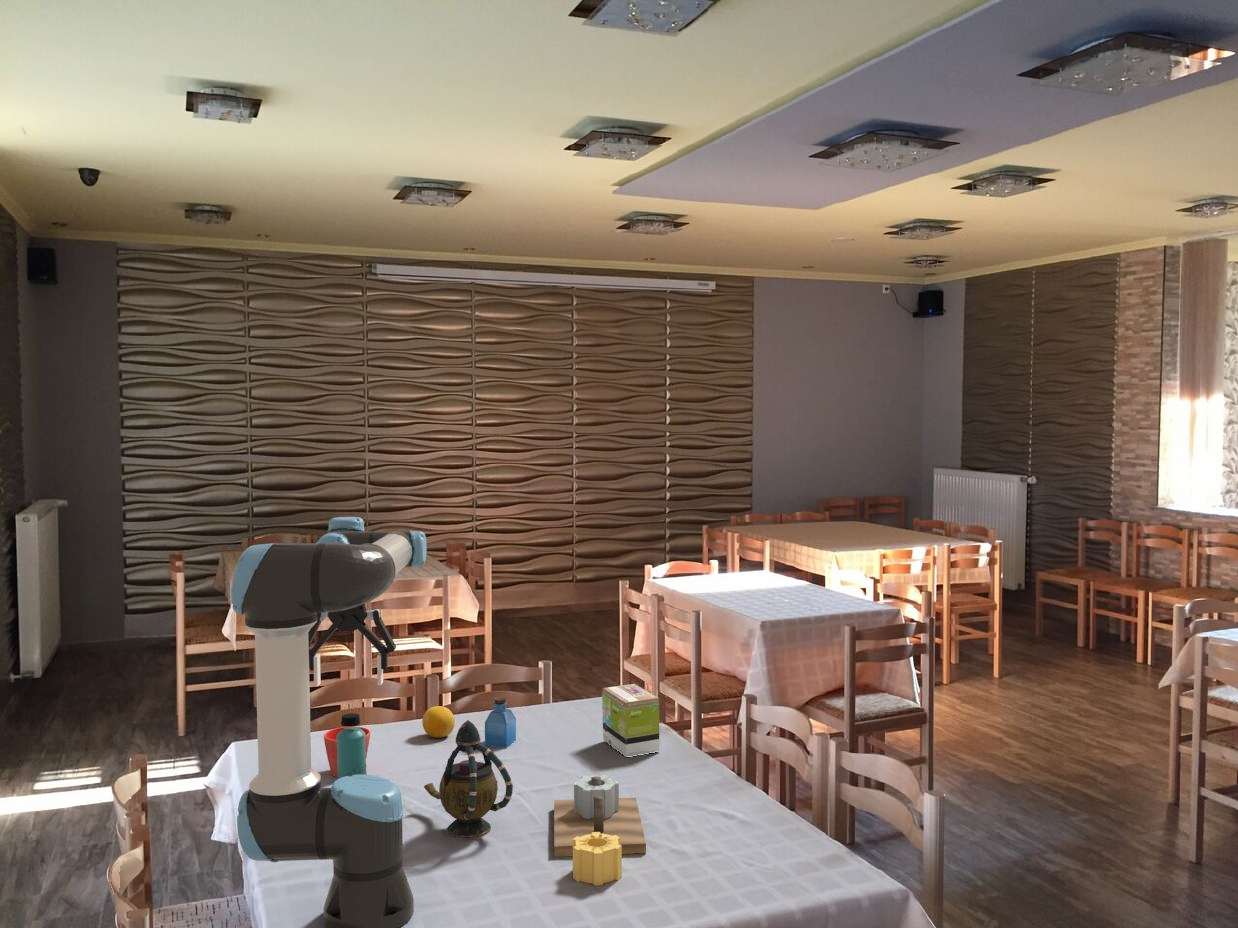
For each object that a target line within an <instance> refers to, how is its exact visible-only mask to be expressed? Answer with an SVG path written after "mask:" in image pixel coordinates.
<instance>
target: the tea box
mask: <svg viewBox="0 0 1238 928" xmlns="http://www.w3.org/2000/svg"><path fill="white" fill-rule="evenodd" d="M601 690H602V693H601V695H602V698H601V699H602V701H601V702H602V704H601V705H602V706H601V707H602V741H603V740H604V741H603V742H604V743H606V742H607V743H608V744H607V743H606V744H607V745H609V746H610V745H611V746H612V747H611V746H610V747H611V748H613V749H614V750H615V749H616V750H617V751H616V750H615V751H616V752H618V751H619V752H620V753H621V754H620V753H619V752H618V753H619V754H620V755H622V754H623V755H624V756H625V757H627V756H633V755H638V754H645V753H650V752H655V751H659V752H660V742H661V741H660V697H658V696H657V695H654V694H653V693H652V692H649V691H648V690H646V689H644V688H643V687H641V686H639V685H637V684H636V683H631V684H624V685H617V686H609V687H602V689H601ZM623 755H622V756H623ZM624 756H623V757H624ZM625 757H624V758H625Z"/></svg>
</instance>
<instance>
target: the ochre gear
mask: <svg viewBox="0 0 1238 928" xmlns="http://www.w3.org/2000/svg"><path fill="white" fill-rule="evenodd" d="M622 855H623V854H622V845H620V837H618V836H616V835H614V836H612V835H607V834H602V833H600V832H592V834H588V835H584V836H581V837H578V836H577V837H575V838H574V839H573V856H572V871H573V873H572V874H573V875H572V876H573V879H574V880H575V881H576V882H577V883H579V882H584V883H588V884H592V885H593V886H594V885H595V886H603V885H604V884H606V883H610V882H612V881H613V882H614V881H619V880H620V879H621V878H622V877H623V875H622V871H623V870H622V869H623V868H622V867H623V865H622V863H623V862H622V859H623V857H622Z"/></svg>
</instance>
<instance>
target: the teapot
mask: <svg viewBox="0 0 1238 928" xmlns="http://www.w3.org/2000/svg"><path fill="white" fill-rule="evenodd" d="M455 744H456V748H455V749H453V750H452V752H451V754H450V755H449V758H448V759H447V762H446V766H445V768H444V771H443V774H442V777H441V778H440V782H439V788H438V789H439V791H438V790H437V789H436V787H435V786H434V783H433V782H430V783H427V784H425V785H424V786H423V788H424V789H425V790H426V792H427V793H428V794H429V795H430V796H431V797H433V798H435V799H437V800H440V802H441V805H442V807H443V809H444V810H445V812H446V813H447V814H449V815H450V817H452V818H453V819H455V820H453V821H452V822H451V823H449V825H448V826H447V827H446V832H447V835H448V836H449V837H452V838H453V839H460V840H466V839H467V840H470V839H478V838H481V837H483V836H486V835H487V834H489V833H490V832H491V829H492V826H491V824H490V823H489V822H488V821H487V820H486V819H484V818H483V817H484V816H485V815H486V814H488V812H489V811H492V812H497V811H499V810H501V809H503V808H505V807H506V806H507V805H508V804H509V802H510V800H511V798H512V795H513V789H514V787H513V786H514V785H513V781H512V778H511V775H510V774H509V771H508V770H507V768H506V767H505V765H504V764H503V762H502V760H501V759H500V758H499V757H498V756H497V755H496V754H495V753H494V752H493V750H491V749H490V748H489V747H488V746H485V744H484V743H483V742H481V736H480V733H479V730H478V728H477V726H476V725H475V724H474V723H473V722H472V721H470V720H469V719H467V720H466V721H465V722H463V723H462V725H460V727H459V729H458V731H457V733H456V737H455ZM475 751H479V752H481V754H482V756H483V760H484V762H481V761H476V757H475V756H476V755H475ZM460 752H462V753H466V754H467V759H466V760H461V761H460V762H457V763H455V759H456V757H457V756H458V754H459V753H460ZM492 763H493V764H494V765H495V767H496V768H497V770H498V772H499V773H500V775H501V777H502V779H503V780H504V785H505V794H504V797H503V798H502V800H501V801H499V802H497V803H495V802H496V800H497V795H498V790H499V789H498V781H497V778H496V775H495V773H494V770H493V768H492V767H493V765H492Z"/></svg>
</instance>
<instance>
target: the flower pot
mask: <svg viewBox="0 0 1238 928" xmlns="http://www.w3.org/2000/svg"><path fill="white" fill-rule="evenodd" d="M357 727H358V728H360V729H362V730H363V731H364V732H365V748H366V756H367V757H368V752H369V751H368V749H369V746H370V745H369V744H370V739H371V731H370V729H368V728H365V727H363V726H357ZM344 728H349V727H345V726H342V727H336V728H332V729H329V730H328V731H325V733H324V734H323V741H324V746H325V753H326V756H327V762H328V767H329V770H330V774H331V775H332V776H333V777H335V778H338V773H337V734H338V733H339V732H340V731H341V730H342V729H344Z"/></svg>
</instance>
